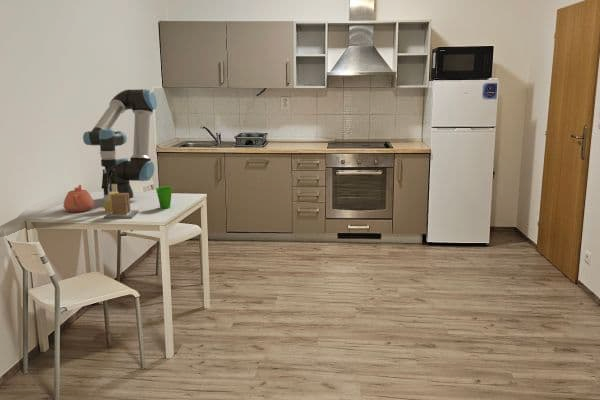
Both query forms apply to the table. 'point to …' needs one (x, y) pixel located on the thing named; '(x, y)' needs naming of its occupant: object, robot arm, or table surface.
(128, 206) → the walnut block
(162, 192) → the cup
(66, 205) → the orange rounded lump
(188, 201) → the table surface
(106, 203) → the mustard block
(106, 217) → the board
